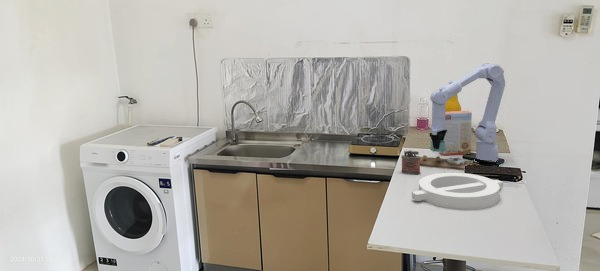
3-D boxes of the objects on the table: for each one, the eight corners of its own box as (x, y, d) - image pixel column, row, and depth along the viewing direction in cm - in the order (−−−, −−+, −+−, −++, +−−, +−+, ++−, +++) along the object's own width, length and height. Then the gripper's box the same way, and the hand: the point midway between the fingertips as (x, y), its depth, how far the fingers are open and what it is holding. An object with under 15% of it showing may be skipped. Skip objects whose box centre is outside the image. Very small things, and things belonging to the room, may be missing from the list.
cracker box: (467, 151, 228) (469, 110, 224) (471, 155, 223) (472, 112, 218) (438, 152, 230) (439, 111, 225) (441, 155, 224) (441, 113, 220)
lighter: (400, 173, 200) (400, 150, 198) (402, 171, 203) (402, 149, 201) (419, 175, 196) (419, 152, 194) (421, 172, 199) (421, 150, 197)
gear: (446, 149, 211) (447, 140, 210) (443, 152, 205) (443, 143, 205) (432, 147, 214) (432, 139, 213) (428, 151, 209) (429, 142, 208)
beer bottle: (438, 141, 252) (439, 88, 246) (452, 139, 256) (453, 86, 250) (450, 144, 244) (452, 90, 238) (464, 142, 248) (465, 88, 241)
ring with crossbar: (504, 189, 175) (504, 177, 174) (492, 215, 152) (492, 201, 151) (430, 180, 190) (430, 169, 189) (409, 203, 166) (409, 190, 165)
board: (471, 163, 209) (471, 155, 209) (465, 170, 199) (466, 162, 198) (421, 158, 221) (421, 151, 220) (413, 165, 211) (413, 157, 210)
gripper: (433, 114, 215) (433, 142, 217) (425, 120, 202) (424, 150, 205) (449, 115, 211) (448, 144, 214) (441, 120, 199) (440, 151, 202)
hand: (438, 147), depth 209 cm, fingers closed on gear, 6 cm apart
